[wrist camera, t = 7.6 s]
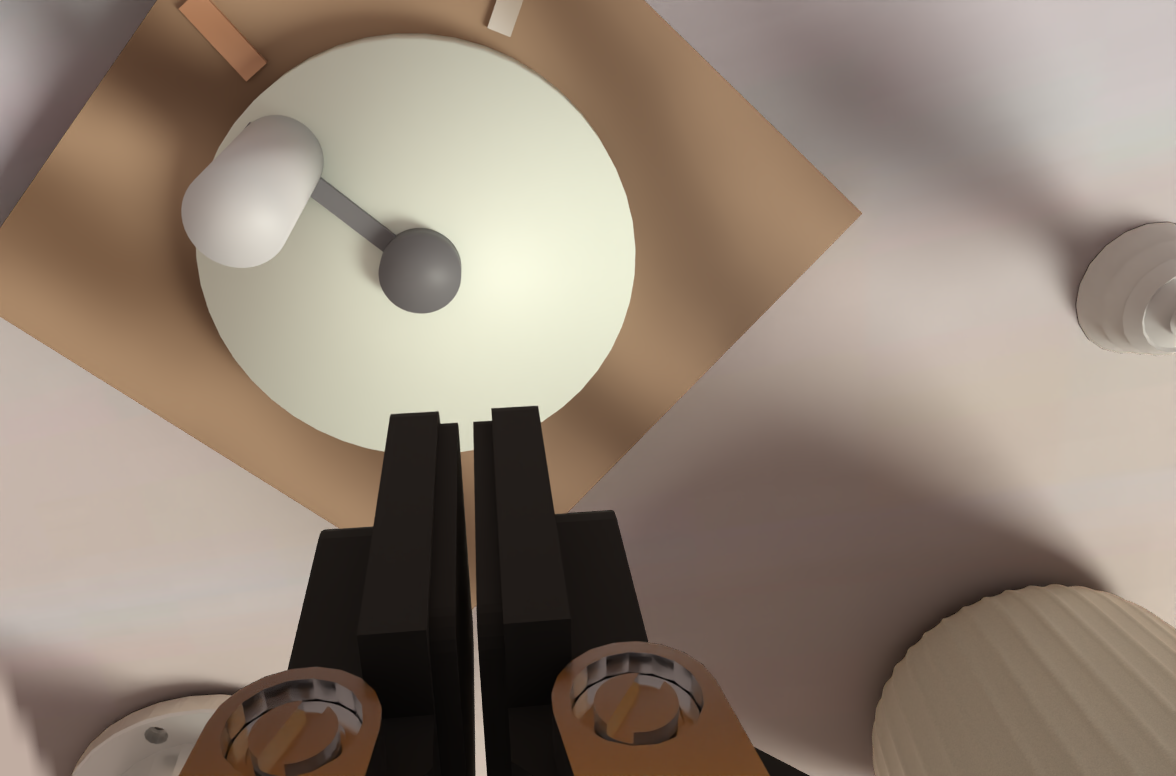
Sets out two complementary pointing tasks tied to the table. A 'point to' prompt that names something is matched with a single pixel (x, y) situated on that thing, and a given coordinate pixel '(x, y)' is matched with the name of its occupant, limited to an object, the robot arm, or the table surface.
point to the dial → (413, 238)
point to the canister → (1034, 691)
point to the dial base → (372, 8)
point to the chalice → (1132, 293)
